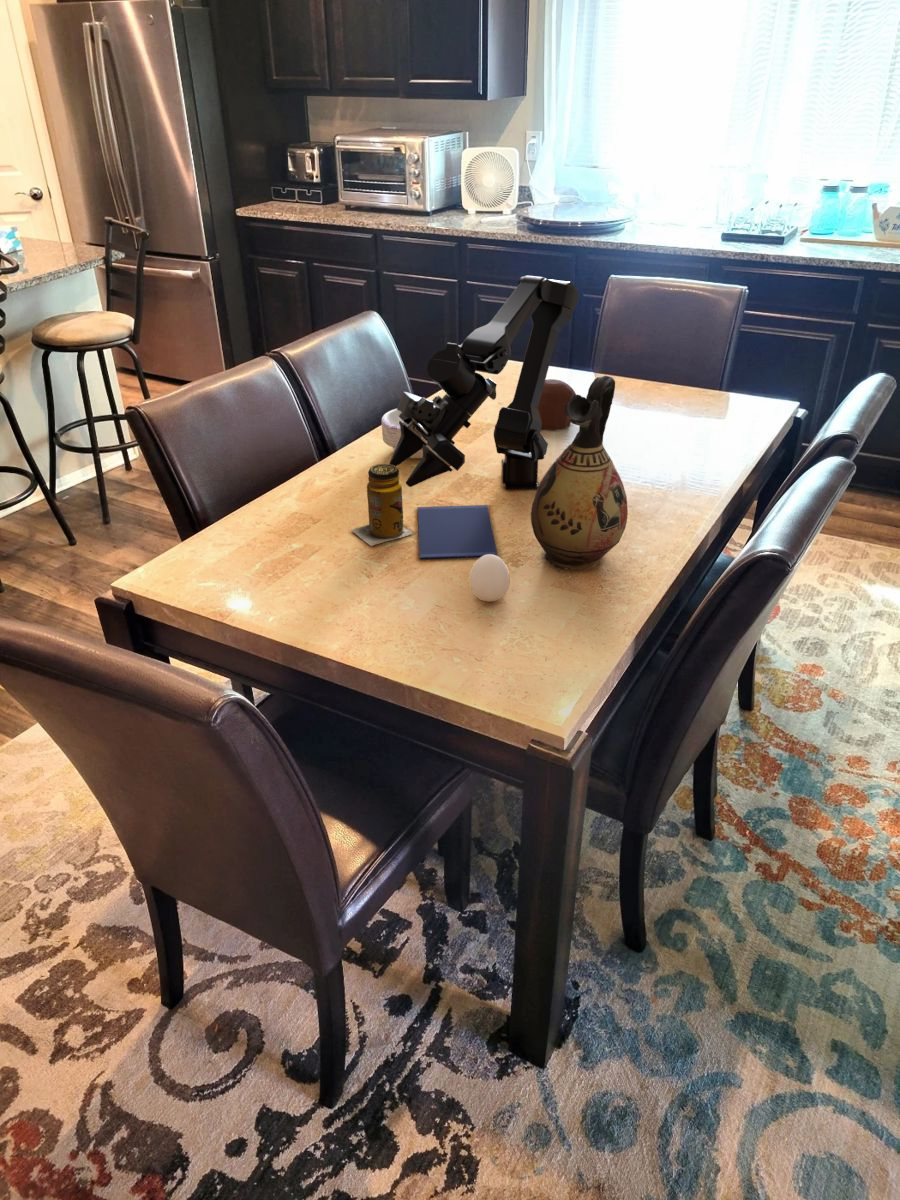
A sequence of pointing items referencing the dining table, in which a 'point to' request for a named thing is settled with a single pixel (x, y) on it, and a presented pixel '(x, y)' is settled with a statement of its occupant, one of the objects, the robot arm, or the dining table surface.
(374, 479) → the condiment
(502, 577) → the egg
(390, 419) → the paper bowls
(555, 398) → the muffin
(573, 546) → the ceramic jug
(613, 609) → the dining table surface
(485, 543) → the cloth
